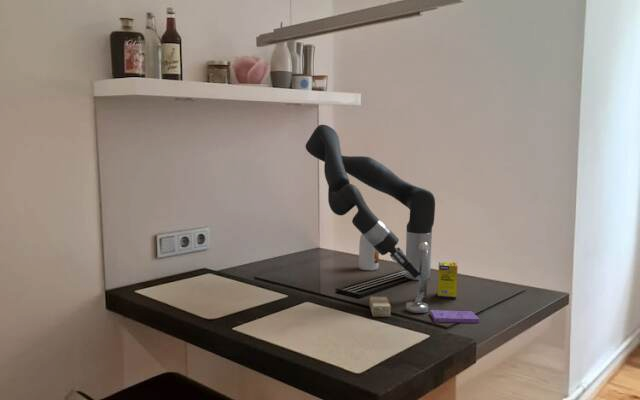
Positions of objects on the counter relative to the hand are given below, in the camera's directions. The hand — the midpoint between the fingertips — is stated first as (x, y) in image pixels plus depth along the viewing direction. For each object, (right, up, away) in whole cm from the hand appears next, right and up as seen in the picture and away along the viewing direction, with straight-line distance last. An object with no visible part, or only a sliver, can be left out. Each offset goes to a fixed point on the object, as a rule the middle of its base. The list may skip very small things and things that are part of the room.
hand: (417, 275), depth 178 cm
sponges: (+7, -11, -18) cm, 22 cm away
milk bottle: (-12, -3, +42) cm, 44 cm away
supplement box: (+10, -8, +4) cm, 14 cm away
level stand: (-13, -9, -13) cm, 20 cm away
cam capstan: (0, -8, -6) cm, 10 cm away
